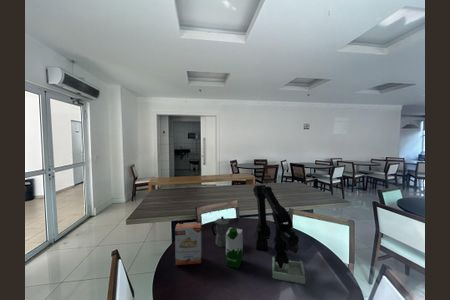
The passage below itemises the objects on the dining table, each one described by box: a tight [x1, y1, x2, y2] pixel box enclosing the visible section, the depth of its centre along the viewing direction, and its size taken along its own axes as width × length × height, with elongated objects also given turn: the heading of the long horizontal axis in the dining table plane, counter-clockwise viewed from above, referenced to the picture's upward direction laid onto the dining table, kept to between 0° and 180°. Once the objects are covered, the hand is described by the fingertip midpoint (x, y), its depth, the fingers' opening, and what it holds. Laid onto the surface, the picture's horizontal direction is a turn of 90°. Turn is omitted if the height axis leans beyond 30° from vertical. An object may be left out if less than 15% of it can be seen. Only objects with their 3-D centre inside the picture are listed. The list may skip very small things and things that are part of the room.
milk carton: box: [225, 227, 244, 269], centre depth 101 cm, size 9×9×20 cm
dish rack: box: [271, 255, 306, 285], centre depth 93 cm, size 15×11×5 cm
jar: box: [276, 262, 285, 271], centre depth 94 cm, size 5×5×7 cm
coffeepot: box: [210, 216, 231, 248], centre depth 119 cm, size 15×9×18 cm, turn 129°
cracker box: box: [174, 222, 202, 266], centre depth 102 cm, size 14×6×21 cm, turn 97°
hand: (280, 264), depth 94 cm, fingers closed on jar, 5 cm apart
